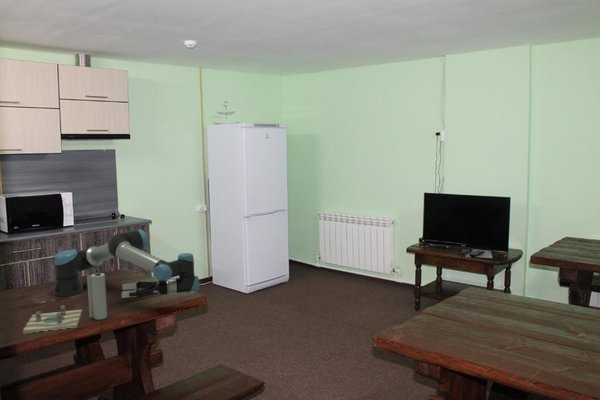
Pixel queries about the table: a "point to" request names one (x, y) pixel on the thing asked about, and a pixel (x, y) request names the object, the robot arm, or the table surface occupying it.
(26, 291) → the table surface
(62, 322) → the plate
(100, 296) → the paper towel roll
